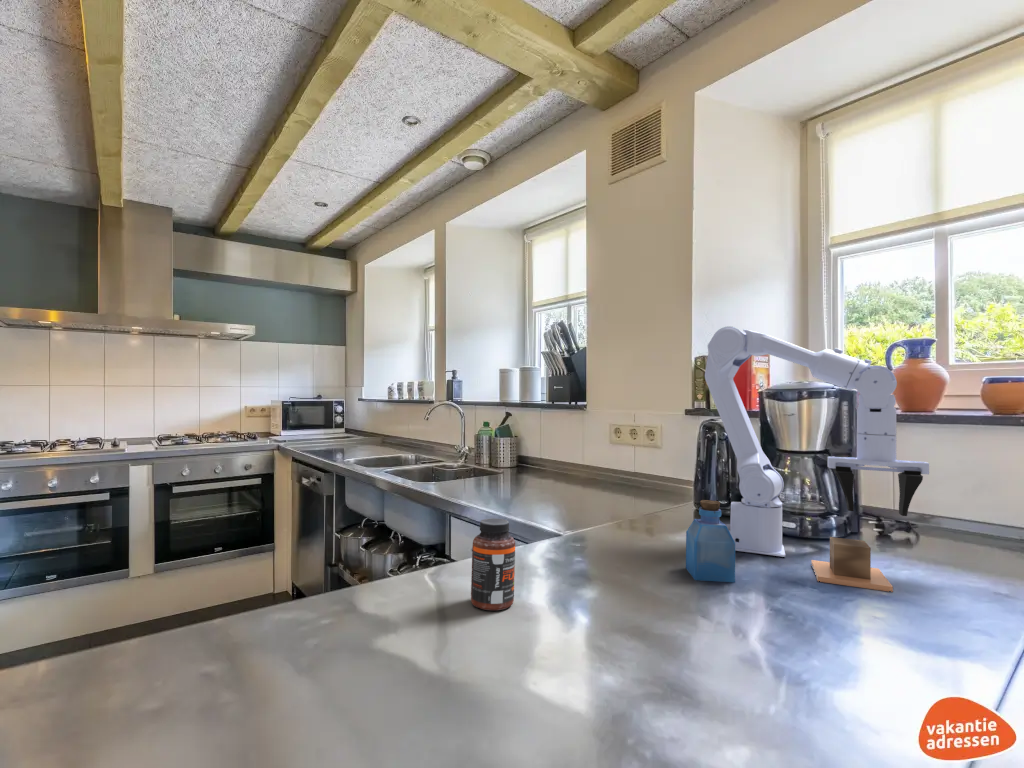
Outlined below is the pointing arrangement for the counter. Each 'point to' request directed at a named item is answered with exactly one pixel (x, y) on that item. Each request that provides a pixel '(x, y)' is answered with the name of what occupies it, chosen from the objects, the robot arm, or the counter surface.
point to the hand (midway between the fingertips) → (876, 512)
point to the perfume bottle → (710, 546)
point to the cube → (850, 558)
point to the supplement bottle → (493, 566)
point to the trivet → (826, 575)
